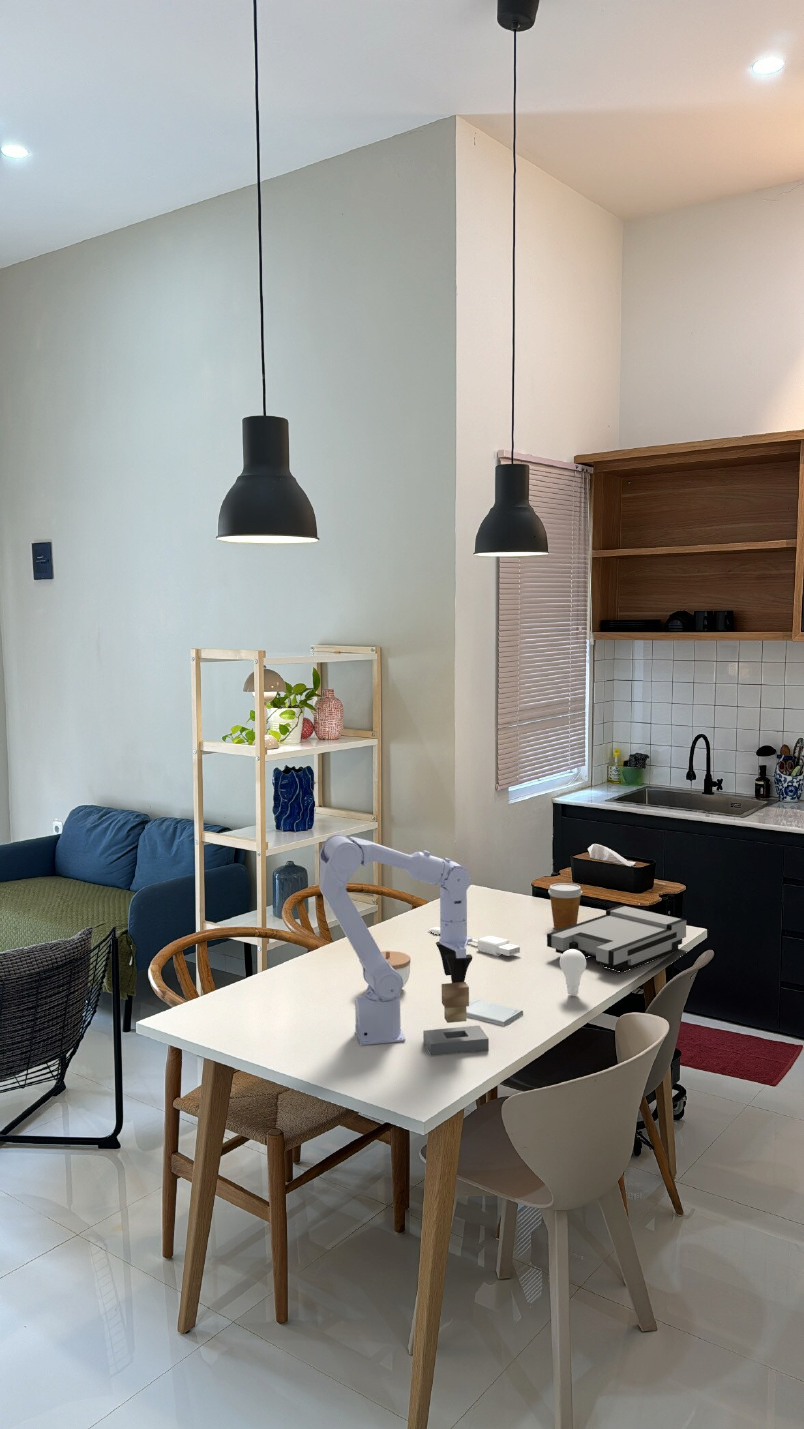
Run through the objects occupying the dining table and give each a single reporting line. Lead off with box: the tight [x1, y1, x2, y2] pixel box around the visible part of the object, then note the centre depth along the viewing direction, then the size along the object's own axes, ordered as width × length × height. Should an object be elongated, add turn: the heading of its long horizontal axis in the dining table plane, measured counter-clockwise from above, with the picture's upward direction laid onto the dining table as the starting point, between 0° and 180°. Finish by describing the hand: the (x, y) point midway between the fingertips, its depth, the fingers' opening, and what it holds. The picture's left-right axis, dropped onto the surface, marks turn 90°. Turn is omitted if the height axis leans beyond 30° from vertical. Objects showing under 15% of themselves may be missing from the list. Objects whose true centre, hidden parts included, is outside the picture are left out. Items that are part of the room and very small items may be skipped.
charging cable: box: [428, 926, 521, 957], centre depth 275 cm, size 5×32×3 cm, turn 41°
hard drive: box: [466, 998, 524, 1027], centre depth 225 cm, size 2×8×12 cm
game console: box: [546, 904, 687, 973], centre depth 264 cm, size 21×32×8 cm, turn 132°
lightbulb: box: [559, 949, 587, 997], centre depth 234 cm, size 6×6×11 cm
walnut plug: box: [441, 981, 470, 1024], centre depth 207 cm, size 5×3×7 cm, turn 101°
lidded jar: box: [381, 950, 411, 988], centre depth 240 cm, size 11×11×9 cm
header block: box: [422, 1025, 490, 1057], centre depth 207 cm, size 12×7×2 cm, turn 101°
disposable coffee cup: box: [548, 882, 583, 930], centre depth 287 cm, size 10×10×12 cm
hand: (453, 980), depth 217 cm, fingers open, 7 cm apart
